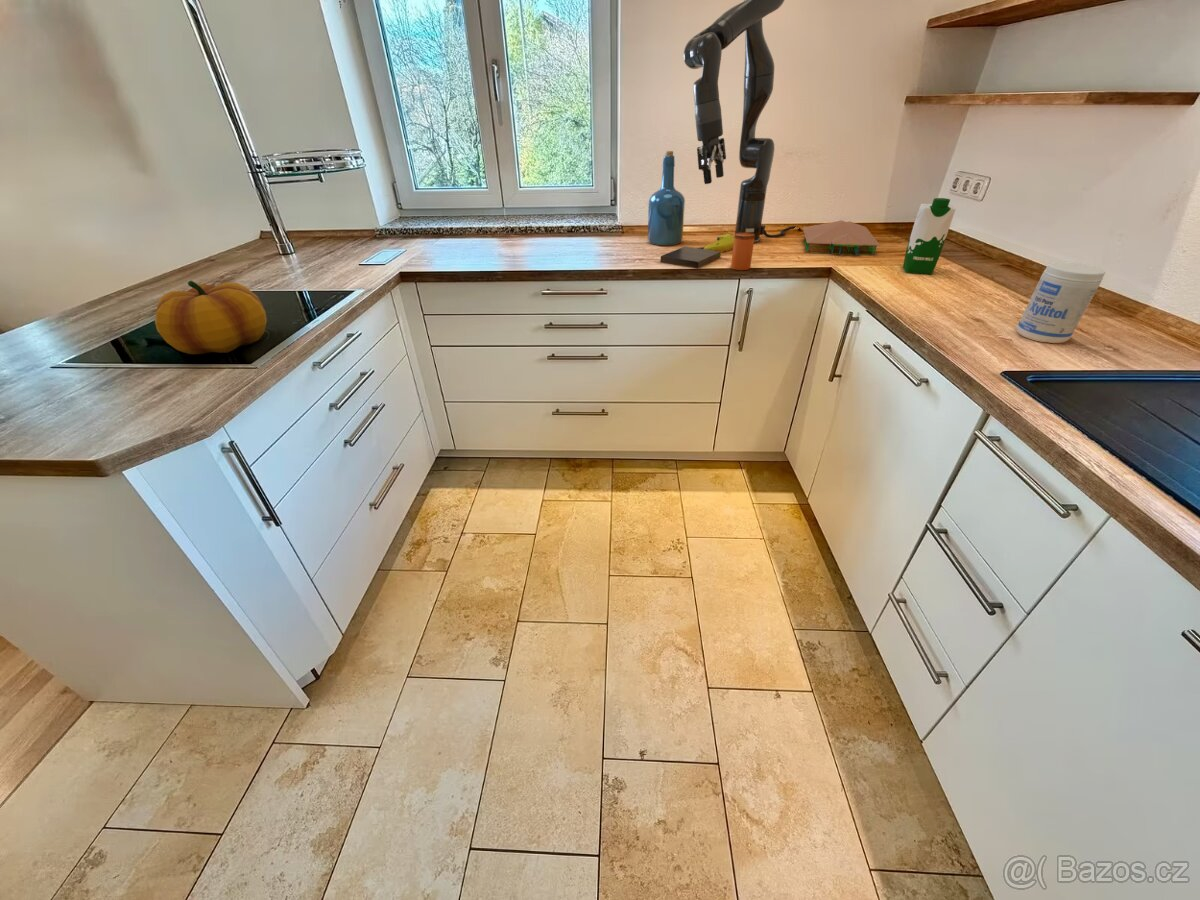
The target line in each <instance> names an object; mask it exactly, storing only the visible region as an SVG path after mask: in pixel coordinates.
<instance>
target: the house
mask: <svg viewBox="0 0 1200 900" xmlns="http://www.w3.org/2000/svg"><path fill="white" fill-rule="evenodd" d="M802 230H803V234H804V245H805V248H806V252H807V253H809V254H810V253H814V254H816V253H817V252H816V250H815V252H814V249H817V248H818V249H817V251H819V249H823V250H820V252H819V253H822V251H824V249H827V250H825V252H824V253H827V252H826V251H828V254H836V255H838V254H839V256H841V253H844V252H845V251H848V252H845V253H844V255H847V254H846V253H849V252H851V253H852V252H853V254H854V257H855V256H858V255H859V254H860V255H861V256H862V255H865V256H866V255H867V256H868V252H870V253H871V254H873V255H875V253H876V250H877V247H880V246H881V245H880V243H879V242H878V241H877V239H876V238H875V237H874V235H873V234H872V233H871V232H870V230H869V229H868V228H867V226H864V225H862V224H858V223H856V222H853V221H846V220H845V221H844V220H837V221H832V222H826V223H821V224H815V225H810V226H804V227H802ZM822 245H823V246H825V248H823V246H822ZM861 246H862V247H861ZM845 247H846V249H845ZM865 247H866V248H865ZM810 248H811V249H812V248H813V249H812V250H810ZM835 248H837V249H838V252H836V250H837V249H835ZM851 248H852V249H851ZM862 248H863V249H862ZM809 250H810V252H809ZM834 250H835V252H834ZM842 250H843V251H842ZM863 251H864V253H860V252H863ZM851 253H850V254H849V256H852V254H851Z"/></svg>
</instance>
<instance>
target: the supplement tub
mask: <svg viewBox="0 0 1200 900" xmlns="http://www.w3.org/2000/svg"><path fill="white" fill-rule="evenodd" d="M1105 274H1106V270H1105V269H1104V268H1102V267H1099V266H1096V265H1092V264H1088V263H1082V262H1073V261H1052V262H1049V263H1048V264H1047V266H1046V267H1045V269H1044V271H1043V272H1042V274H1041V276H1040V278H1039V280H1038V282H1037V284H1036V286H1035V288H1034V291H1033V292H1032V294H1031V297H1030V299H1029V301H1028V302H1027V305H1026V307H1025V309H1024V311H1023V313H1022V315H1021V317H1020V319H1019V322H1018V324H1017V326H1016V332H1017V333H1018V334H1019V335H1020V336H1022V337H1024V338H1026V339H1029V340H1033V341H1036V342H1041V343H1050V344H1061V343H1065V342H1067V341H1069V340H1070V339H1071V338H1072V336H1073V334H1074V332H1075V330H1076V329H1077V327H1078V325H1079V323H1080V322H1081V320H1082V318H1083V316H1084V314H1085V312H1086V311H1087V309H1088V307H1089V305H1090V303H1091V302H1092V300H1093V298H1094V296H1095V294H1096V293H1097V291H1098V288H1100V285H1101V284H1102V281H1103V280H1104V276H1105Z"/></svg>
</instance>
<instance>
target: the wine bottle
mask: <svg viewBox="0 0 1200 900" xmlns="http://www.w3.org/2000/svg"><path fill="white" fill-rule="evenodd" d="M664 154H665V155H664V156H663V160H662V166H661V167H662V175H661V187H659V189H658V190H656V191H655V192H654V193H652V194H651V195H650V198H649V199H648V213H647V214H648V215H647V216H648V217H647V241H648V243H650V244H652V245H655V246H675V245H678V244H681V242H682V241H683V238H684V226H685V225H684V224H685V209H686V198H685V196H684V194H683V193H682V192H681V191H679V190H678V189H676V188H675V167H676V160H675V155H674V151H673V150H666V151H665V153H664Z"/></svg>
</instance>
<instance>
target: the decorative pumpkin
mask: <svg viewBox="0 0 1200 900" xmlns="http://www.w3.org/2000/svg"><path fill="white" fill-rule="evenodd" d="M187 285H188V286H189V287H190V289H189V290H172V291H169V292H167V293H164V294H163V295H162V296H161V298H160V299H159V300H158V302H157V305H156V309H155V317H154V324H155V328H156V331H157V333H158V334H159V336H161V337H162V339H163V340H164V341H165V342H166V343H167V345H169V346H171V347H172V348H174V349H175V350H176V351H179V352H182V353H184V354H188V355H206V354H209V353H217V354H228V353H230V352H232V351H235V350H236V349H237V348H239V347H243V346H248V345H251V344H254V343H256V342H257V341H259V340H261V338H262V337H263V335H264V334H265V331H266V326H267V322H268V320H267V314H266V313H267V312H266V309H265V308H264V305H263V303H262V301H261V300H260V298H259V297H258V295H256V294H255V293H254V292H253V291H251V290H250V289H249V288H248V287H247V286H245V285H243V284H240V283H237V282H224V283H221V284H218V285H211V284H205V283H197V282H195V281H193V280H189V281H188V282H187Z"/></svg>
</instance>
